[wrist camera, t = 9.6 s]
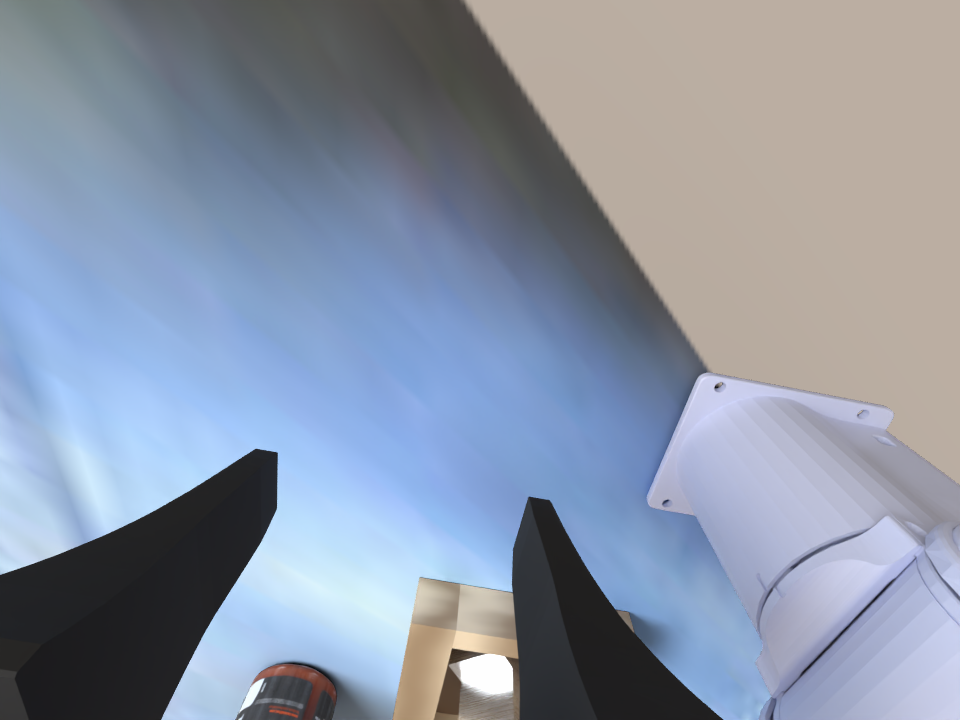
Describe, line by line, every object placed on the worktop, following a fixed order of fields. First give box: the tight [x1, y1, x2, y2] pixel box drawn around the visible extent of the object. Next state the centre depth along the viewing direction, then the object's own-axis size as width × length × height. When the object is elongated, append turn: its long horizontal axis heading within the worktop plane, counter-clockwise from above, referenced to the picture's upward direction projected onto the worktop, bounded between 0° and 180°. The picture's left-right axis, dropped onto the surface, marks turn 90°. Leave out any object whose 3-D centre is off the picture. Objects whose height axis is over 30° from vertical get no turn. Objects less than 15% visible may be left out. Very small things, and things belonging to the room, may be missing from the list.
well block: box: [392, 578, 634, 720], centre depth 30 cm, size 13×14×3 cm
